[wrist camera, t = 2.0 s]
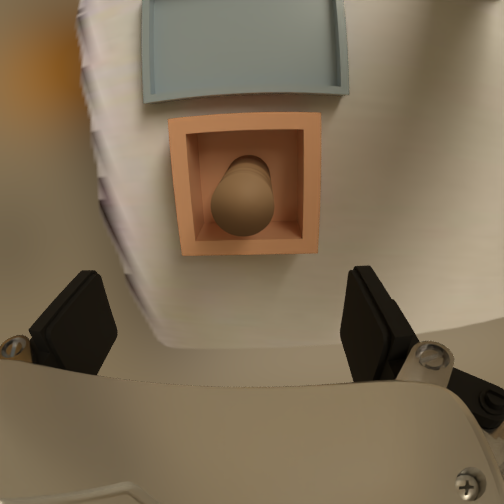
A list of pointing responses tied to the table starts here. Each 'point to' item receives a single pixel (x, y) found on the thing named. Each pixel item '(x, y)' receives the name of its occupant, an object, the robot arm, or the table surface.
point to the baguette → (244, 197)
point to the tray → (243, 48)
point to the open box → (281, 172)
